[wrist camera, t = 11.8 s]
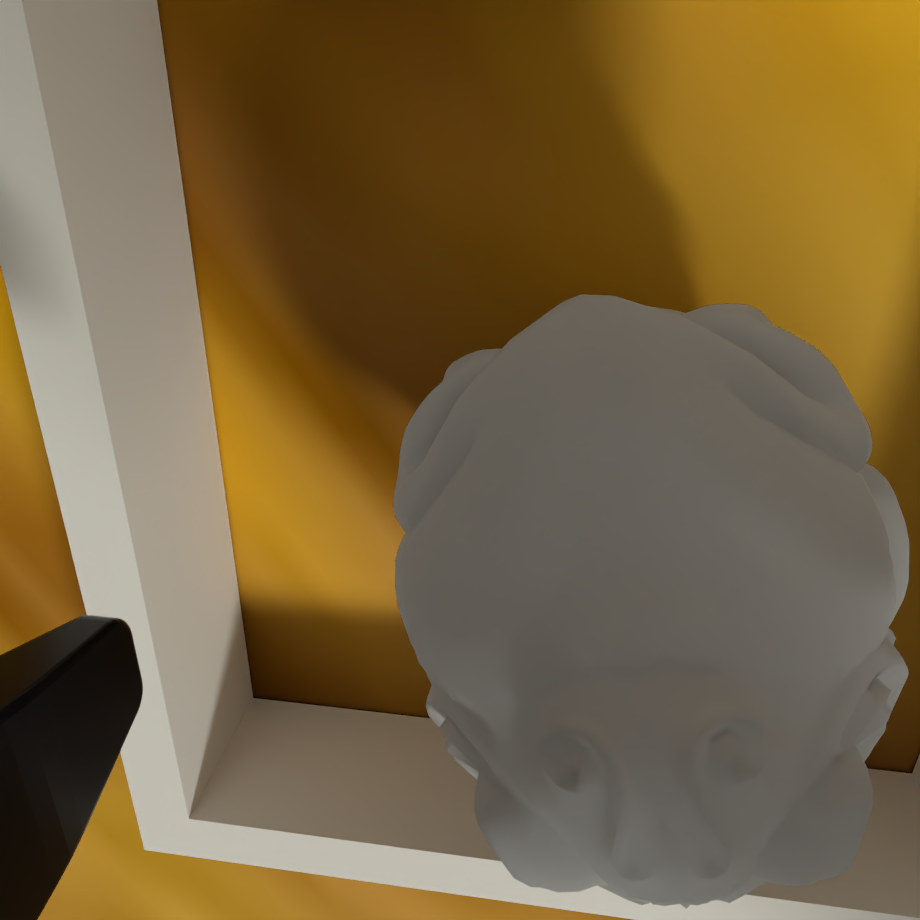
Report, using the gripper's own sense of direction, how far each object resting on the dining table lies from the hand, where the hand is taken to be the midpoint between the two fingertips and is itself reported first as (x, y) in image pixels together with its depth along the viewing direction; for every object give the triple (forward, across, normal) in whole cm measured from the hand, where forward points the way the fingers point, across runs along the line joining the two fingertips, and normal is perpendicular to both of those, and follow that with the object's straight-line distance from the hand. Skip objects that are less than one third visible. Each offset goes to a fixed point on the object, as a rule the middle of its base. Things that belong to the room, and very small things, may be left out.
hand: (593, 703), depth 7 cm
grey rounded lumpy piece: (+6, 0, 0) cm, 6 cm away
